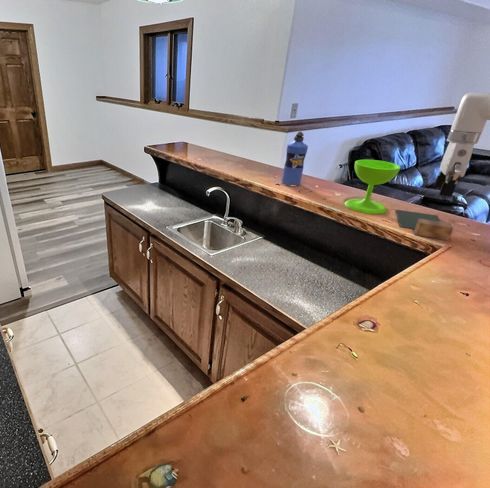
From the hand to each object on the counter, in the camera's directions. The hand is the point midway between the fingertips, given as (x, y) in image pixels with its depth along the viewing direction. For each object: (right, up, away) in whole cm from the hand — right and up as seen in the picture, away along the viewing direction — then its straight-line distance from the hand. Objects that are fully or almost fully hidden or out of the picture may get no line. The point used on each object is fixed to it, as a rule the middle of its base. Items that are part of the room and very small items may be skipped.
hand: (442, 191), depth 113 cm
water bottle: (-27, +13, +62) cm, 69 cm away
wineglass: (-6, -2, +33) cm, 34 cm away
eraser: (0, -15, +6) cm, 16 cm away
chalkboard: (+6, -9, +18) cm, 21 cm away
